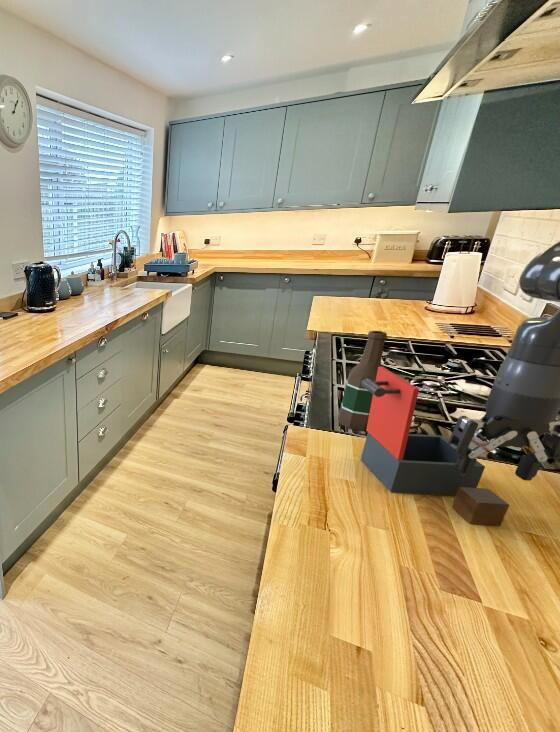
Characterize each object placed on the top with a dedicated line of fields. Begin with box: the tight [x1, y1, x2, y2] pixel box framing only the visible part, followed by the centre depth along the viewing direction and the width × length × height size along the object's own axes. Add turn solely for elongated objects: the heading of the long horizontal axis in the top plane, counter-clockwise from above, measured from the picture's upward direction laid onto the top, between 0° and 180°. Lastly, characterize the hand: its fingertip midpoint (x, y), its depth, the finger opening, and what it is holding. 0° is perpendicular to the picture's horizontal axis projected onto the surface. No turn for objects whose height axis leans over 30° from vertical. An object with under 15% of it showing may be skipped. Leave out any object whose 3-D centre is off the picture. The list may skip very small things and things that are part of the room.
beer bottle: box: [338, 330, 388, 432], centre depth 101 cm, size 8×8×24 cm
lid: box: [361, 366, 420, 460], centre depth 80 cm, size 14×12×5 cm
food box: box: [360, 432, 486, 497], centre depth 83 cm, size 14×12×7 cm
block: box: [451, 487, 510, 527], centre depth 72 cm, size 4×4×4 cm
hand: (492, 476), depth 70 cm, fingers open, 8 cm apart
